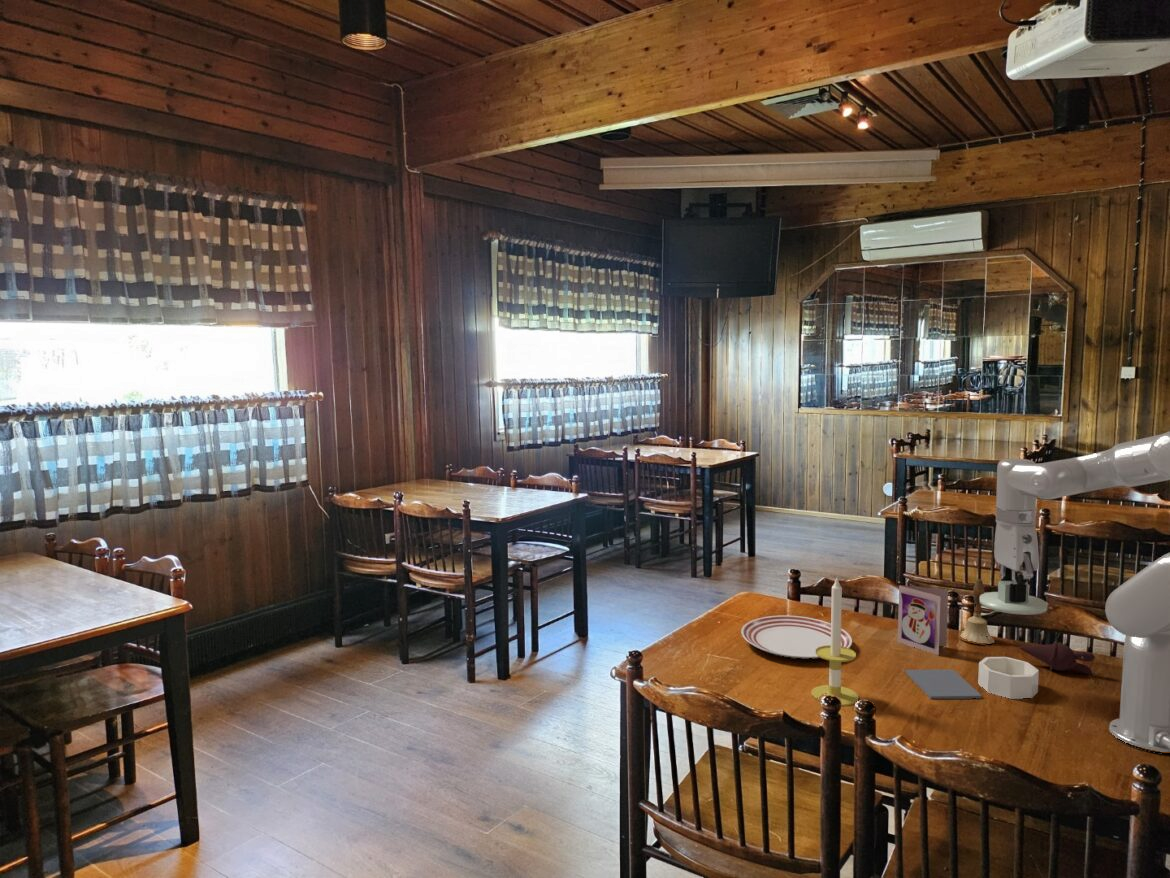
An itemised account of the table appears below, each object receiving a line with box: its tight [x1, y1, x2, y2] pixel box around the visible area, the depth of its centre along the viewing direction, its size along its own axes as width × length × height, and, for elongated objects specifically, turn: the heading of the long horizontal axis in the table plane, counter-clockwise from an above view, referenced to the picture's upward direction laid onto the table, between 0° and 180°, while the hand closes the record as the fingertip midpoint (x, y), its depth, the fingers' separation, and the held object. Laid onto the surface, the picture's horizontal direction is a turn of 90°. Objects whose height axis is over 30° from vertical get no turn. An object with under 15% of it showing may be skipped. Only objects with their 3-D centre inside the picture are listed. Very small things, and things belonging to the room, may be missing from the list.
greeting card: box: [897, 585, 949, 656], centre depth 198 cm, size 11×7×15 cm, turn 33°
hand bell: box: [959, 578, 995, 644], centre depth 202 cm, size 8×8×16 cm
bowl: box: [977, 656, 1040, 700], centre depth 173 cm, size 11×11×5 cm
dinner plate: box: [740, 614, 853, 660], centre depth 201 cm, size 28×27×3 cm
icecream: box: [1018, 640, 1095, 675], centre depth 183 cm, size 7×7×15 cm
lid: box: [980, 580, 1048, 616], centre depth 171 cm, size 13×13×5 cm
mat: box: [904, 669, 983, 700], centre depth 176 cm, size 14×11×1 cm
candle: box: [810, 577, 860, 707], centre depth 170 cm, size 10×10×27 cm
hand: (1013, 598), depth 171 cm, fingers closed on lid, 3 cm apart
